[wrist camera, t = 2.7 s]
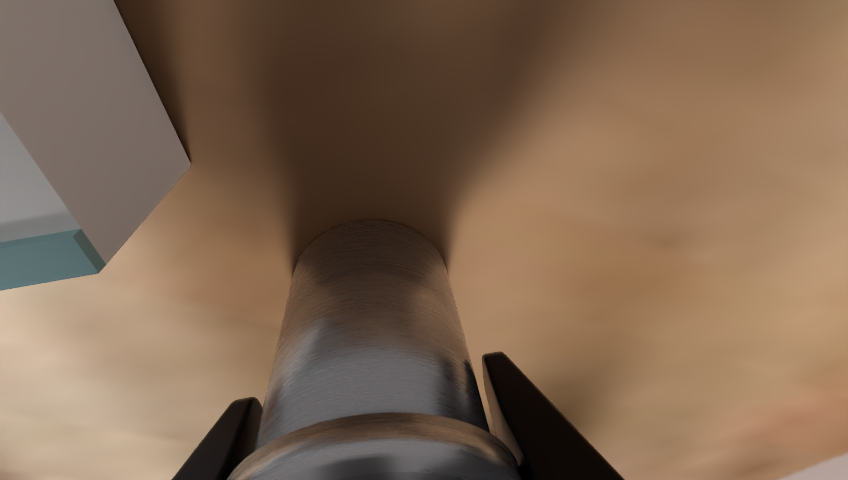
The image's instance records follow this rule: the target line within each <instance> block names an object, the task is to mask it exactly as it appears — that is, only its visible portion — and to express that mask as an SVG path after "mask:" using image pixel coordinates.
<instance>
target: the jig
mask: <svg viewBox="0 0 848 480" xmlns="http://www.w3.org/2000/svg"><path fill="white" fill-rule="evenodd" d="M190 166H191V163H190V161H189V159H188V157H187V155H186V153H185V150H184V148H183V146H182V144H181V142H180V140H179V138H178V136H177V134H176V131H175V129H174V127H173V125H172V123H171V121H170V119H169V117H168V115H167V112H166V110H165V108H164V106H163V104H162V102H161V100H160V98H159V96H158V93H157V91H156V89H155V87H154V85H153V83H152V81H151V79H150V77H149V74H148V72H147V70H146V68H145V66H144V64H143V62H142V60H141V58H140V55H139V53H138V51H137V49H136V47H135V45H134V43H133V41H132V39H131V36H130V34H129V32H128V30H127V28H126V26H125V24H124V22H123V20H122V17H121V15H120V13H119V11H118V9H117V7H116V5H115V3H114V1H113V0H0V290H6V289H12V288H17V287H23V286H29V285H35V284H40V283H46V282H52V281H57V280H63V279H69V278H75V277H80V276H86V275H92V274H98V273H99V272H100V271H101V270H102V269H103V268H104V267H105V265H106V264H107V263H108V262H109V261H110V260H111V258H112V257H113V256H114V255H115V254H116V253H117V251H118V250H119V249H120V248H121V247H122V246H123V244H124V243H125V242H126V241H127V240H128V239H129V237H130V236H131V235H132V234H133V233H134V232H135V230H136V229H137V228H138V227H139V226H140V225H141V223H142V222H143V221H144V220H145V219H146V218H147V216H148V215H149V214H150V213H151V212H152V211H153V209H154V208H155V207H156V206H157V205H158V204H159V202H160V201H161V200H162V199H163V198H164V197H165V195H166V194H167V193H168V192H169V191H170V190H171V188H172V187H173V186H174V185H175V184H176V183H177V181H178V180H179V179H180V178H181V177H182V176H183V174H184V173H185V172H186V171H187V170H188V169H189V167H190Z"/></svg>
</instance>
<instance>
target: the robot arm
mask: <svg viewBox="0 0 848 480" xmlns="http://www.w3.org/2000/svg"><path fill="white" fill-rule="evenodd" d="M482 366H483V378H484V386H485V391H486V396H487V400H488V404H489V408H490V412H491V416H492V421H493V425H494V429H495V433H496V437H497V438H498V439H500V440H501V441H502V442H503V443H504V444H505V445H506V446H507V447H508V448H509V449H510V450H511V452H512V453H513V455H514V456H515V458H516V460H517V462H518V465H519V468H520V471H521V474H522V477H523V480H625V479H624V478H623V477H622V476H621V475H620V474H619V473H618V472H617V471H616V470H615V469H614V468H613V467H612V466H611V465H610V464H609V463H608V462H607V461H606V460H605V459H604V457H603V456H602V455H601V454H600V453H599V452H598V451H597V450H596V449H595V448H594V447H593V446H592V445H591V444H590V443H589V442H588V441H587V440H586V439H585V438H584V436H583V435H582V434H581V433H580V432H579V431H578V430H577V429H576V428H575V427H574V426H573V425H572V424H571V423H570V422H569V421H568V420H567V419H566V418H565V417H564V415H563V414H562V413H561V412H560V411H559V410H558V409H557V408H556V407H555V406H554V405H553V404H552V403H551V402H550V401H549V400H548V399H547V398H546V397H545V396H544V395H543V393H542V392H541V391H540V390H539V389H538V388H537V387H536V386H535V385H534V384H533V383H532V382H531V381H530V380H529V379H528V378H527V377H526V376H525V375H524V374H523V372H522V371H521V370H520V369H519V368H518V367H517V366H516V365H515V364H514V363H513V362H512V361H511V360H510V359H509V358H508V357H507V356H506V355H505V354H504V353H503V352H493V353H488V354H484V355H483V356H482ZM262 410H263V408H262V406H261V404H260V402H259V401H258V399H257V398H255V397H249V398H244V399H239V400H235V401H234V402H232V403H231V404H230V405H229V407H228V408H227V409H226V411H225V412H224V413H223V414H222V416H221V417H220V418H219V420H218V421H217V422H216V423H215V425H214V426H213V427H212V429H211V430H210V431H209V432H208V434H207V435H206V436H205V438H204V439H203V440H202V441H201V443H200V444H199V445H198V447H197V448H196V449H195V450H194V452H193V453H192V454H191V456H190V457H189V458H188V459H187V461H186V462H185V463H184V464H183V466H182V467H181V468H180V470H179V471H178V472H177V473H176V475H175V476H174V477H173V479H172V480H227V478H228V477H229V476H230V474H231V473H232V471H233V470H234V469H235V468H236V467H237V466H238V465H239V464H240V463H241V462H242V461H243V460H244V459H245V458H246V457H248V456H249V455H250V454H252V453H253V449H254V445H255V441H256V436H257V432H258V427H259V423H260V419H261V414H262Z"/></svg>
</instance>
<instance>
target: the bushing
mask: <svg viewBox="0 0 848 480" xmlns="http://www.w3.org/2000/svg"><path fill="white" fill-rule="evenodd" d="M227 480H523V477H522V474H521V471H520V468H519V465H518V462H517V460H516V458H515V456H514V455H513V453H512V452H511V450H510V449H509V448H508V447H507V446H506V445H505V444H504V443H503V442H502V441H501V440H500V439H498V438H497V437H495V436H493V435H492V434H490V431H489V427H488V423H487V420H486V416H485V412H484V408H483V405H482V401H481V397H480V393H479V390H478V386H477V382H476V379H475V375H474V371H473V367H472V364H471V360H470V356H469V352H468V349H467V345H466V341H465V337H464V334H463V330H462V326H461V322H460V319H459V315H458V311H457V307H456V304H455V300H454V296H453V292H452V289H451V285H450V281H449V278H448V274H447V270H446V266H445V263H444V261H443V258H442V256H441V254H440V253H439V251H438V249H437V248H436V247H435V246H434V245H433V243H432V242H430V241H429V240H428V239H427V238H426V237H425V236H423V235H422V234H420V233H419V232H417V231H415V230H413V229H412V228H410V227H407V226H404V225H402V224H399V223H394V222H390V221H383V220H361V221H354V222H349V223H345V224H342V225H339V226H336V227H334V228H332V229H330V230H328V231H326V232H324V233H323V234H321V235H320V236H318V237H317V238H315V239H314V240H313V241H312V242H311V243H310V244H309V245H308V246H307V247H306V248H305V250H304V251H303V252H302V254H301V255H300V257H299V259H298V261H297V264H296V266H295V270H294V274H293V278H292V283H291V287H290V291H289V296H288V300H287V305H286V309H285V313H284V318H283V322H282V327H281V331H280V335H279V340H278V344H277V348H276V353H275V357H274V362H273V366H272V370H271V375H270V379H269V384H268V388H267V392H266V397H265V401H264V406H263V410H262V414H261V419H260V423H259V427H258V432H257V436H256V441H255V445H254V449H253V453H252V454H250V455H249V456H248V457H246V458H245V459H244V460H243V461H242V462H241V463H240V464H239V465H238V466H237V467H236V468H235V469H234V470H233V471H232V473H231V474H230V476H229V477H228V478H227Z"/></svg>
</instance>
